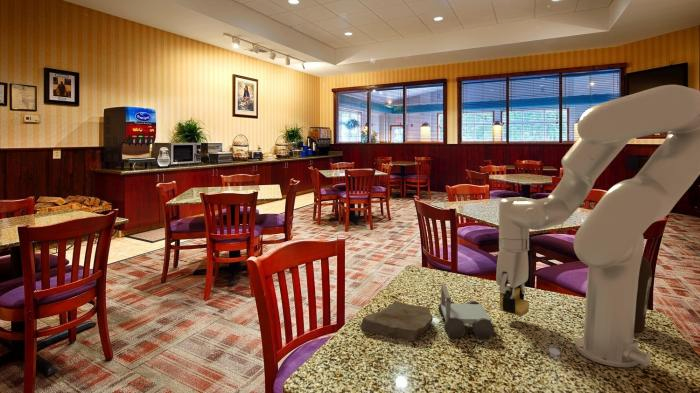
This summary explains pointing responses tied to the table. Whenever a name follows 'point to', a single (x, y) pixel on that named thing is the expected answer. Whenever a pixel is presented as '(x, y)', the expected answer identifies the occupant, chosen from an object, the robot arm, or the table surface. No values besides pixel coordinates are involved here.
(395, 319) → the marble piece
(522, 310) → the orange block
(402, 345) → the table surface
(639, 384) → the table surface
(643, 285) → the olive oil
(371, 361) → the table surface
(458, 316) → the trolley
